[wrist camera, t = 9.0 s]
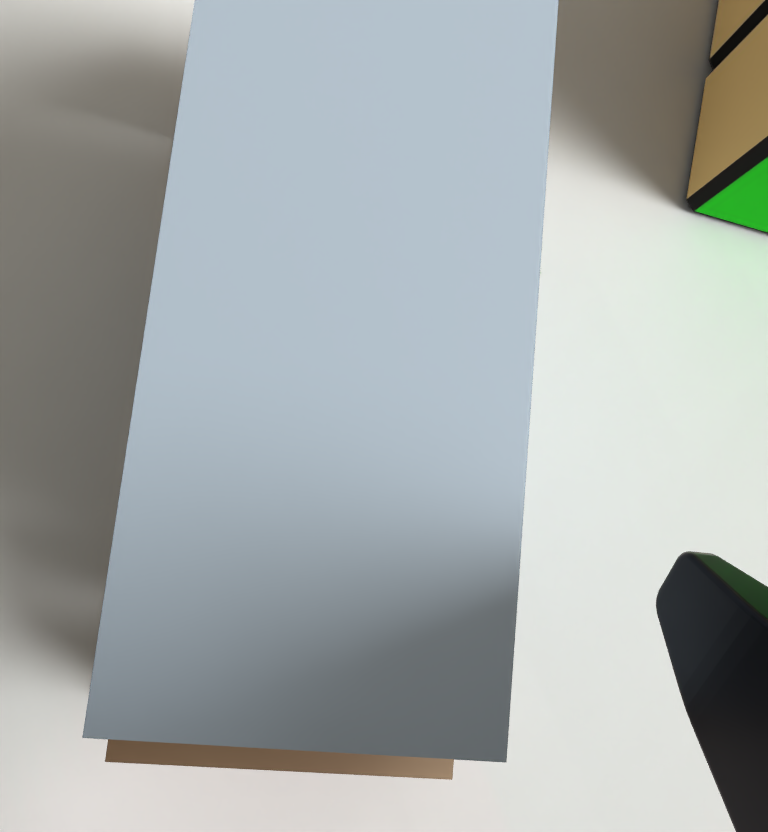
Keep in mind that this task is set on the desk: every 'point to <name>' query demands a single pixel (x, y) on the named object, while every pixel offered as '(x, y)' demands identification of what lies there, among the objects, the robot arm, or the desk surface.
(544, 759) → the desk surface
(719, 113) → the puzzle cube
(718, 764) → the robot arm
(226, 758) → the peg rest
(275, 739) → the pale blue block
